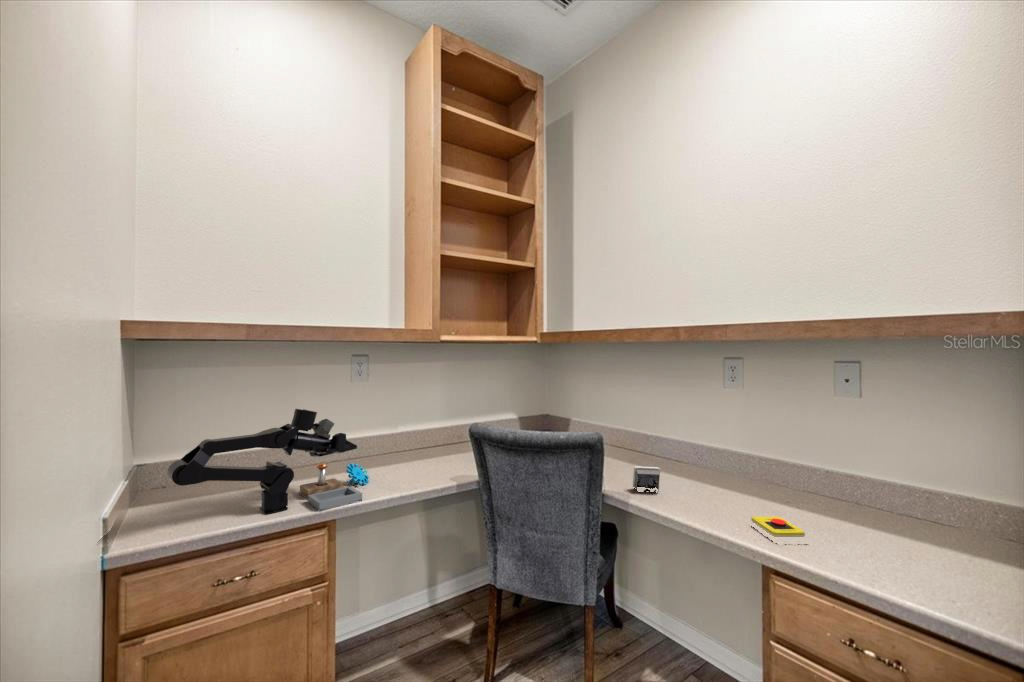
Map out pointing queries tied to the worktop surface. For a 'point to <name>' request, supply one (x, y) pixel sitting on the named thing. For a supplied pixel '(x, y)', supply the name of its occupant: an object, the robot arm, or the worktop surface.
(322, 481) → the pin
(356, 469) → the gear
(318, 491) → the wooden block
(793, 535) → the emergency button
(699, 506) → the worktop surface
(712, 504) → the worktop surface
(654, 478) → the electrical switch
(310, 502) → the tray
